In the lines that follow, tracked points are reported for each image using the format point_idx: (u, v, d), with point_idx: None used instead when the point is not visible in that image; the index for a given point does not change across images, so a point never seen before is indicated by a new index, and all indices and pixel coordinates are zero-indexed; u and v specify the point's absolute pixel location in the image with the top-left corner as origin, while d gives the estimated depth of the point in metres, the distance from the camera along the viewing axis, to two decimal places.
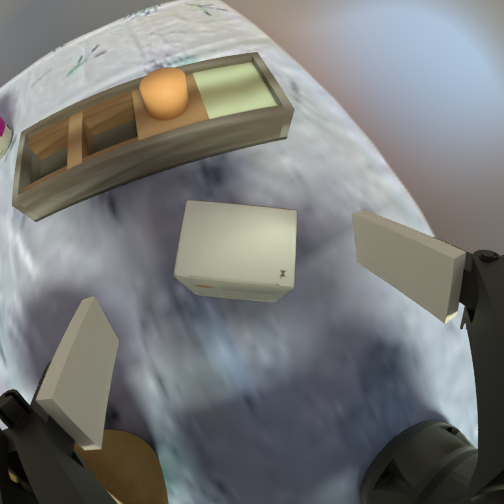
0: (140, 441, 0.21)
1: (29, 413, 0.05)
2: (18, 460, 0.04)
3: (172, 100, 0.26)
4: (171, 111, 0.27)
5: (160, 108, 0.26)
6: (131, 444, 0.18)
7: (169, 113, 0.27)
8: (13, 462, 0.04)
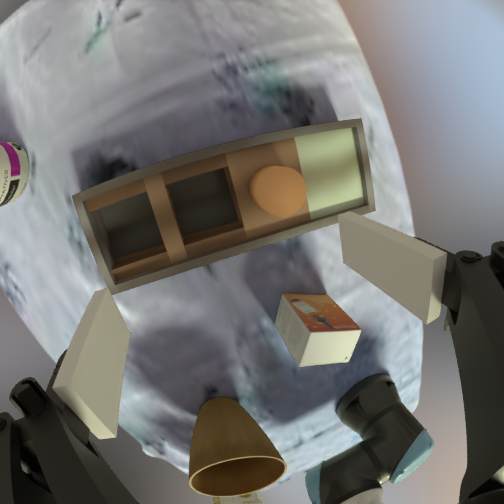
0: (237, 404, 0.44)
1: (46, 401, 0.06)
2: (31, 449, 0.05)
3: None
4: None
5: None
6: (244, 415, 0.40)
7: None
8: (26, 452, 0.05)
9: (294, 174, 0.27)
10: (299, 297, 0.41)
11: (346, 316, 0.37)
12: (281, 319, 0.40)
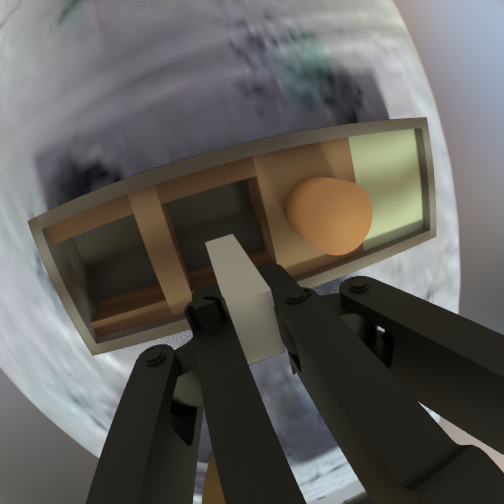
0: None
1: (225, 322, 0.08)
2: (197, 379, 0.07)
3: None
4: None
5: None
6: None
7: None
8: (188, 384, 0.07)
9: (358, 192, 0.18)
10: None
11: None
12: None
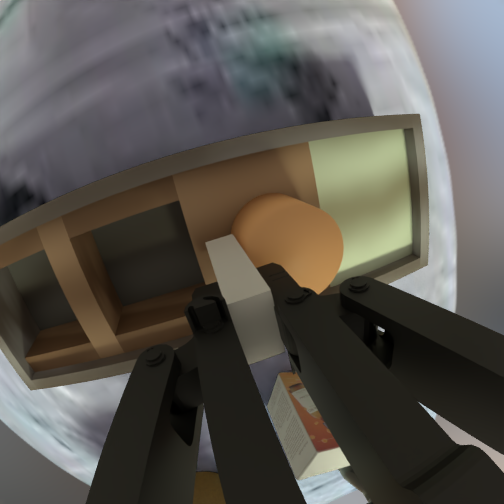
0: None
1: (225, 321, 0.08)
2: (197, 378, 0.07)
3: None
4: None
5: None
6: None
7: None
8: (189, 384, 0.07)
9: (322, 220, 0.13)
10: None
11: None
12: (276, 407, 0.26)
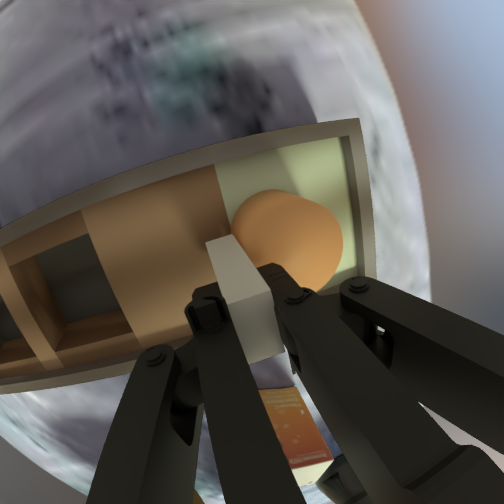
0: None
1: (225, 321, 0.08)
2: (197, 378, 0.07)
3: None
4: None
5: None
6: None
7: None
8: (189, 384, 0.07)
9: (319, 214, 0.13)
10: None
11: (315, 433, 0.22)
12: None
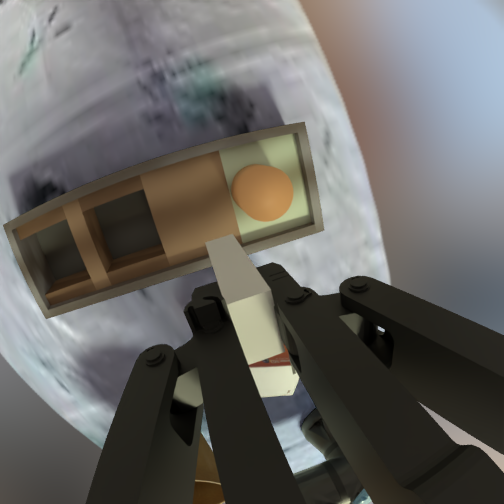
0: None
1: (224, 321, 0.08)
2: (197, 378, 0.07)
3: None
4: None
5: None
6: None
7: None
8: (188, 383, 0.07)
9: (278, 173, 0.25)
10: None
11: None
12: None
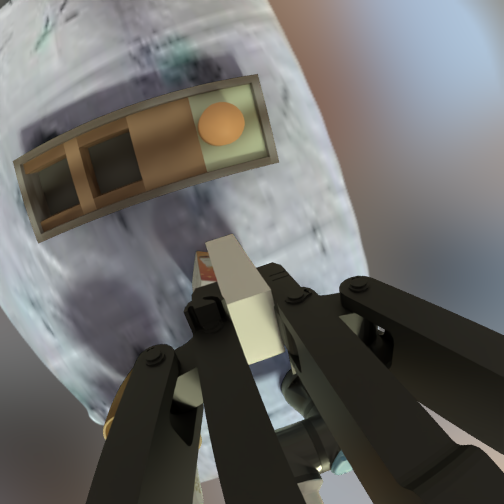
0: None
1: (224, 321, 0.08)
2: (197, 378, 0.07)
3: None
4: None
5: (219, 145, 0.32)
6: None
7: None
8: (188, 384, 0.07)
9: (231, 107, 0.29)
10: None
11: None
12: (193, 276, 0.41)
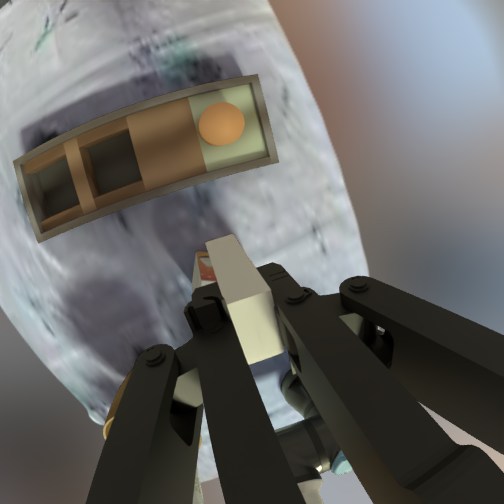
0: None
1: (224, 322, 0.08)
2: (197, 378, 0.07)
3: None
4: None
5: (219, 145, 0.32)
6: None
7: None
8: (188, 384, 0.07)
9: (231, 107, 0.29)
10: None
11: None
12: (193, 276, 0.41)
